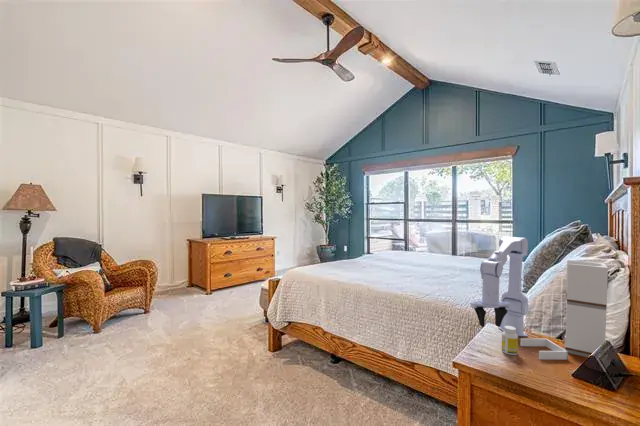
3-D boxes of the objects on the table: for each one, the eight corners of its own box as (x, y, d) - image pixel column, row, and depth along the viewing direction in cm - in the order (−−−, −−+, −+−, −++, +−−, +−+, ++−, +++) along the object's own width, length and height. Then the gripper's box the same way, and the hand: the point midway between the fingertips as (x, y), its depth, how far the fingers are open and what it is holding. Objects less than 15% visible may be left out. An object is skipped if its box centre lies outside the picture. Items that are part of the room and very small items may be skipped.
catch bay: (520, 345, 127) (520, 338, 127) (546, 345, 127) (546, 338, 127) (539, 359, 116) (540, 351, 116) (568, 359, 116) (568, 351, 116)
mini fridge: (600, 350, 123) (604, 263, 122) (604, 361, 115) (607, 267, 114) (564, 342, 130) (567, 259, 129) (565, 352, 122) (568, 263, 120)
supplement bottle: (520, 353, 120) (521, 328, 120) (512, 356, 118) (513, 331, 117) (506, 347, 125) (506, 323, 125) (498, 351, 122) (499, 326, 122)
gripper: (477, 294, 116) (476, 330, 117) (515, 294, 117) (514, 330, 117) (468, 289, 124) (467, 322, 124) (504, 289, 124) (503, 322, 124)
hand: (489, 325), depth 121 cm, fingers open, 6 cm apart
